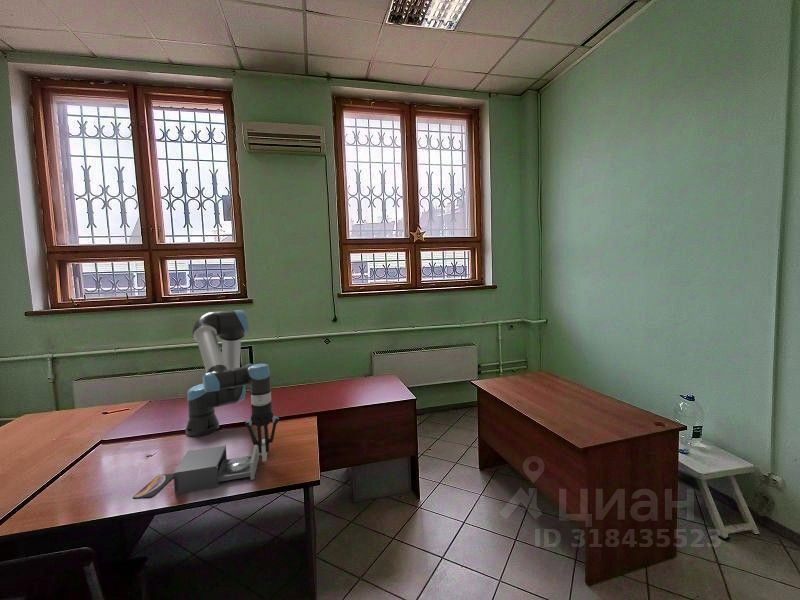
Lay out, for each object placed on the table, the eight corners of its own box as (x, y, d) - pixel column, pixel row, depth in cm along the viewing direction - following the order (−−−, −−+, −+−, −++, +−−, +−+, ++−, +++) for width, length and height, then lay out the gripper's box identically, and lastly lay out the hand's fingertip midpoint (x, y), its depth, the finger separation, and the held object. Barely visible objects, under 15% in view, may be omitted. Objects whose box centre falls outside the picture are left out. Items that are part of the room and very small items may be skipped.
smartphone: (130, 498, 124) (158, 474, 139) (131, 500, 124) (158, 476, 139) (152, 496, 124) (177, 473, 139) (152, 498, 124) (177, 475, 139)
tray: (223, 463, 146) (222, 448, 145) (258, 458, 149) (258, 443, 149) (214, 486, 130) (212, 469, 129) (254, 479, 133) (253, 462, 133)
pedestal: (256, 450, 157) (255, 440, 156) (268, 449, 158) (267, 438, 158) (254, 456, 152) (254, 445, 152) (267, 454, 153) (266, 443, 153)
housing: (189, 469, 142) (188, 450, 142) (227, 463, 146) (225, 445, 146) (175, 494, 126) (173, 472, 125) (217, 486, 130) (216, 466, 129)
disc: (251, 459, 145) (251, 455, 145) (249, 471, 137) (248, 466, 136) (227, 463, 143) (227, 459, 142) (223, 475, 134) (223, 470, 134)
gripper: (242, 408, 135) (245, 467, 137) (277, 404, 139) (281, 461, 140) (245, 401, 142) (248, 458, 144) (278, 398, 146) (281, 452, 147)
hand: (264, 459), depth 142 cm, fingers closed
